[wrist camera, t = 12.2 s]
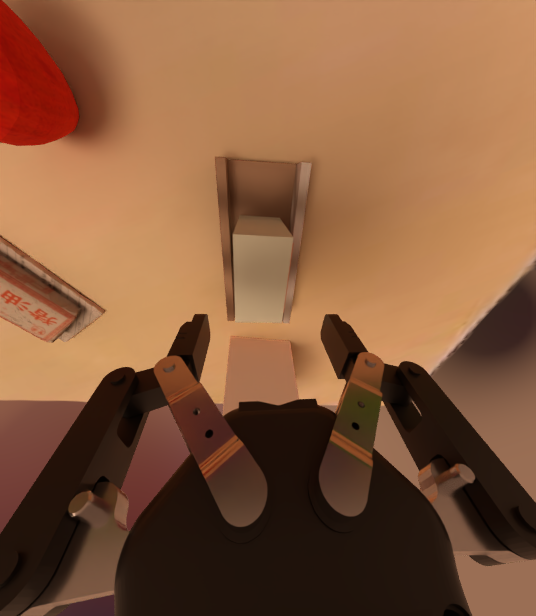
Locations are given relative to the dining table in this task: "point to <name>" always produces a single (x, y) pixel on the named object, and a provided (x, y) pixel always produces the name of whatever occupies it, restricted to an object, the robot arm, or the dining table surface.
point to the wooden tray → (260, 209)
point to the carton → (261, 268)
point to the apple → (31, 88)
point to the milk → (259, 372)
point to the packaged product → (40, 298)
